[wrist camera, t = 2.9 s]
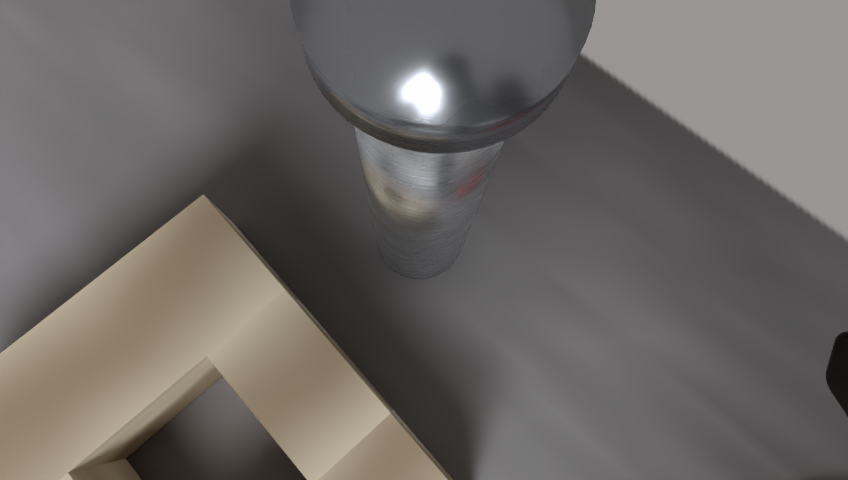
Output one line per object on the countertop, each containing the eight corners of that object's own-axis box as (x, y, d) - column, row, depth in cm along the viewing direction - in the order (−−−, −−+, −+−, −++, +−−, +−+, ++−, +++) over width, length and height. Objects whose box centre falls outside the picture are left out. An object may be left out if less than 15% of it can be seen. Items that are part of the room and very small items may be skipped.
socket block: (471, 500, 20) (485, 523, 16) (217, 750, 18) (174, 834, 15) (235, 224, 22) (203, 194, 18) (-17, 427, 20) (-104, 435, 17)
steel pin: (500, 240, 22) (659, -5, 8) (415, 317, 21) (432, 188, 8) (424, 158, 22) (452, -196, 9) (337, 230, 22) (225, -34, 8)
